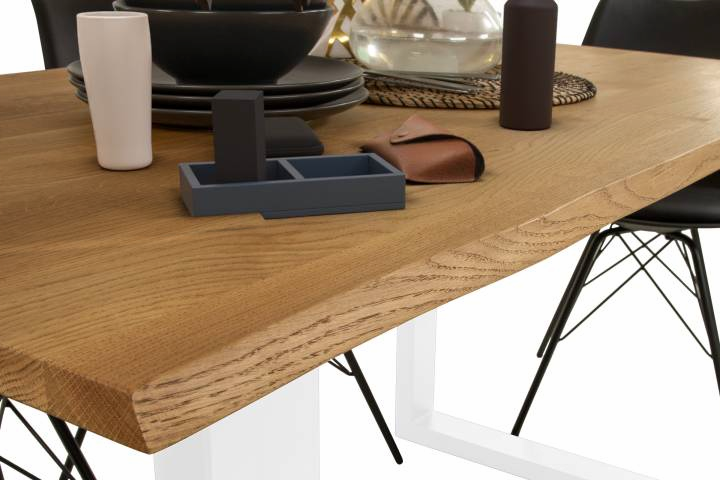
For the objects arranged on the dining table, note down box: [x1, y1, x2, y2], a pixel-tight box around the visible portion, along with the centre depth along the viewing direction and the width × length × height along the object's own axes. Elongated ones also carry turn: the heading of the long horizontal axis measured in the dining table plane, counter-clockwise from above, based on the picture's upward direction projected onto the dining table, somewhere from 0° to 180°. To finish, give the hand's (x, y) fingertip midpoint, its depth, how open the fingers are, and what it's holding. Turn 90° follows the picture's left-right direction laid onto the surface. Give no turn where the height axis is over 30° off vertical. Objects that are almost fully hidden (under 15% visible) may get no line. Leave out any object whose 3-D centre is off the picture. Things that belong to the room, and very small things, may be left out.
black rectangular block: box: [210, 89, 267, 184], centre depth 88 cm, size 4×5×9 cm
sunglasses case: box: [358, 112, 486, 185], centre depth 106 cm, size 18×7×7 cm, turn 22°
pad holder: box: [178, 152, 406, 220], centre depth 90 cm, size 10×18×3 cm, turn 111°
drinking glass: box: [76, 11, 154, 171], centre depth 100 cm, size 7×7×15 cm
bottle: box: [498, 0, 559, 131], centre depth 126 cm, size 7×7×20 cm
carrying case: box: [264, 116, 325, 159], centre depth 109 cm, size 11×3×15 cm
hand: (251, 5), depth 93 cm, fingers open, 8 cm apart
